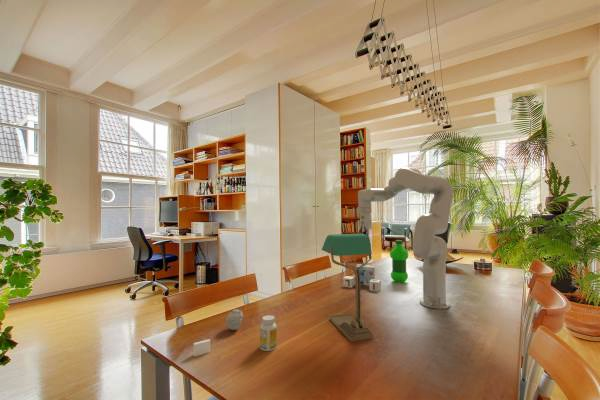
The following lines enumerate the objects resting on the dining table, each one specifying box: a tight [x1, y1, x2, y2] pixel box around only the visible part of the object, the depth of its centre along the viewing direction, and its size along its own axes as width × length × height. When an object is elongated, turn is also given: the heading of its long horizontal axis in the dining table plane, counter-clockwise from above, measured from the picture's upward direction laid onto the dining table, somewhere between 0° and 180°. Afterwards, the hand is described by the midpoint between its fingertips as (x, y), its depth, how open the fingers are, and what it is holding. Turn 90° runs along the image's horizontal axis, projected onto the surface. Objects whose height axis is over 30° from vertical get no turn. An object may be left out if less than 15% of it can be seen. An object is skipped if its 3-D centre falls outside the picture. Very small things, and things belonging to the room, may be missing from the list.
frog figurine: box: [224, 308, 244, 331], centre depth 104 cm, size 6×7×7 cm
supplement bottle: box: [259, 314, 278, 352], centre depth 91 cm, size 5×5×10 cm
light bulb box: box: [355, 263, 376, 287], centre depth 166 cm, size 11×7×11 cm, turn 73°
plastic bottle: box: [389, 239, 409, 284], centre depth 170 cm, size 10×10×25 cm
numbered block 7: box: [342, 275, 356, 288], centre depth 161 cm, size 5×5×5 cm
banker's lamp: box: [321, 233, 374, 342], centre depth 106 cm, size 16×21×35 cm
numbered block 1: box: [368, 279, 382, 293], centre depth 154 cm, size 5×5×5 cm
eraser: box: [193, 338, 212, 357], centre depth 87 cm, size 1×5×4 cm, turn 124°
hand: (365, 241), depth 165 cm, fingers closed
